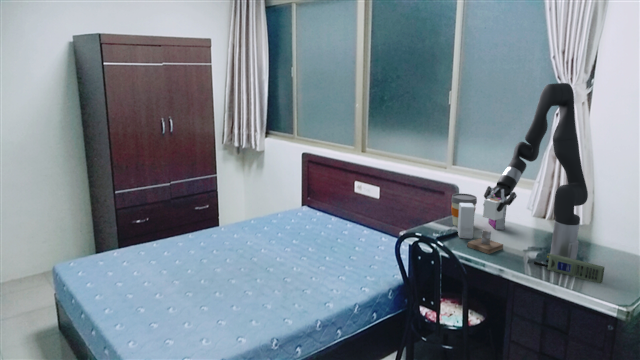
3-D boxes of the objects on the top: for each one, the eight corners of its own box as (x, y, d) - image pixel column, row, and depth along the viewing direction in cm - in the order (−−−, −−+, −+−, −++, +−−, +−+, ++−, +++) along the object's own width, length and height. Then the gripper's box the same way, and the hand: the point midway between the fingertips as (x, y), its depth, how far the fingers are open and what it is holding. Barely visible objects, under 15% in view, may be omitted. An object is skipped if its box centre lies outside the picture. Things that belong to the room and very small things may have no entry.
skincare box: (472, 239, 227) (475, 207, 223) (458, 238, 228) (461, 206, 224) (470, 233, 235) (473, 202, 231) (456, 232, 236) (458, 201, 232)
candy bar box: (487, 222, 251) (490, 192, 247) (497, 222, 251) (500, 192, 247) (494, 229, 240) (497, 198, 236) (504, 230, 240) (508, 198, 236)
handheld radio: (600, 285, 181) (532, 266, 197) (602, 282, 184) (534, 264, 199) (603, 268, 180) (534, 251, 196) (605, 266, 183) (536, 249, 198)
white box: (502, 217, 214) (504, 200, 212) (494, 220, 211) (496, 202, 209) (490, 214, 219) (492, 197, 217) (482, 216, 215) (484, 199, 213)
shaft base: (502, 248, 216) (504, 231, 214) (488, 254, 209) (490, 236, 207) (481, 241, 224) (483, 225, 222) (467, 246, 217) (468, 229, 216)
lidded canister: (458, 219, 256) (461, 192, 253) (479, 225, 247) (482, 197, 243) (444, 223, 248) (446, 195, 245) (465, 230, 239) (467, 201, 235)
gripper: (492, 171, 220) (474, 200, 216) (521, 177, 209) (502, 208, 205) (498, 181, 225) (480, 209, 220) (526, 187, 213) (508, 217, 209)
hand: (491, 208), depth 213 cm, fingers closed on white box, 6 cm apart
